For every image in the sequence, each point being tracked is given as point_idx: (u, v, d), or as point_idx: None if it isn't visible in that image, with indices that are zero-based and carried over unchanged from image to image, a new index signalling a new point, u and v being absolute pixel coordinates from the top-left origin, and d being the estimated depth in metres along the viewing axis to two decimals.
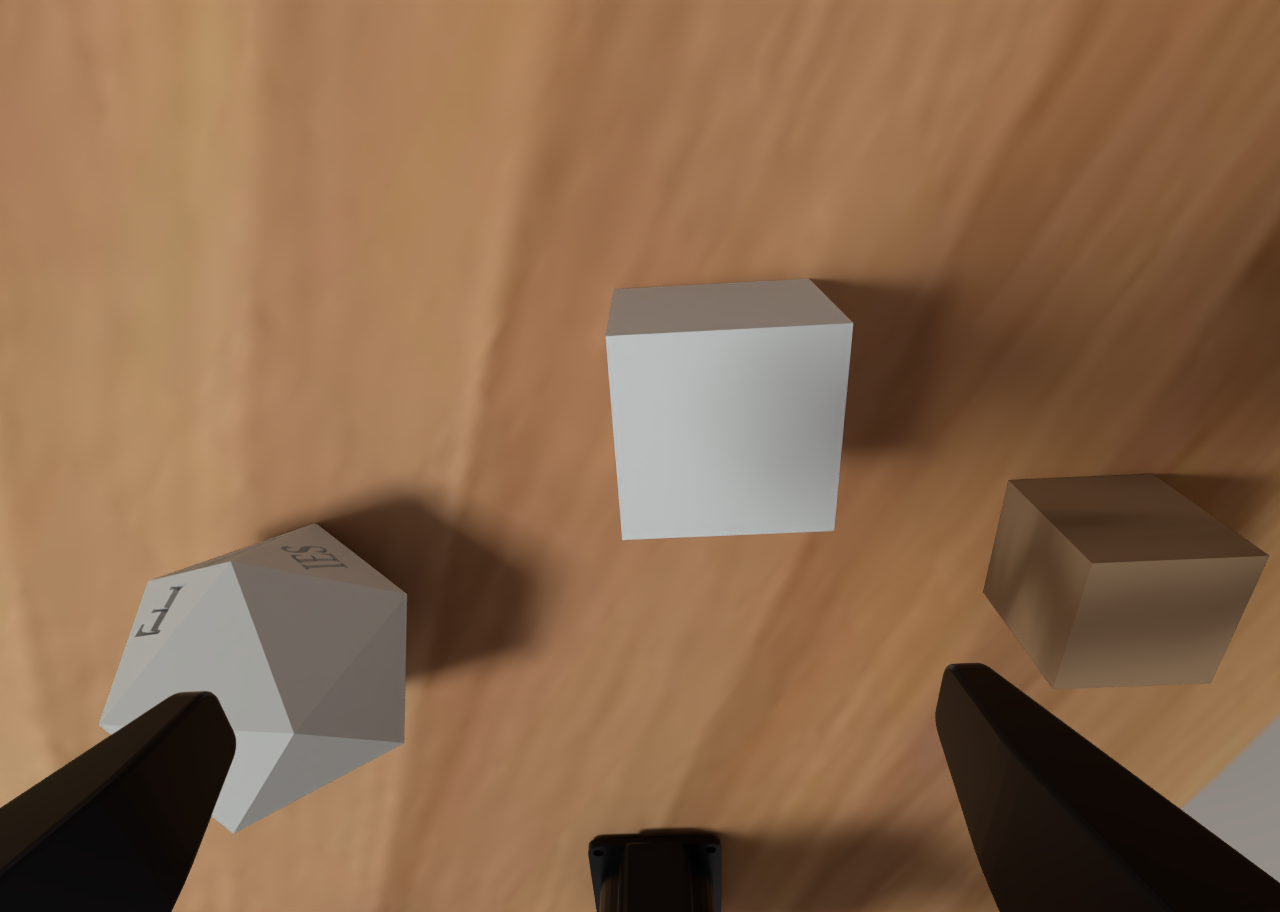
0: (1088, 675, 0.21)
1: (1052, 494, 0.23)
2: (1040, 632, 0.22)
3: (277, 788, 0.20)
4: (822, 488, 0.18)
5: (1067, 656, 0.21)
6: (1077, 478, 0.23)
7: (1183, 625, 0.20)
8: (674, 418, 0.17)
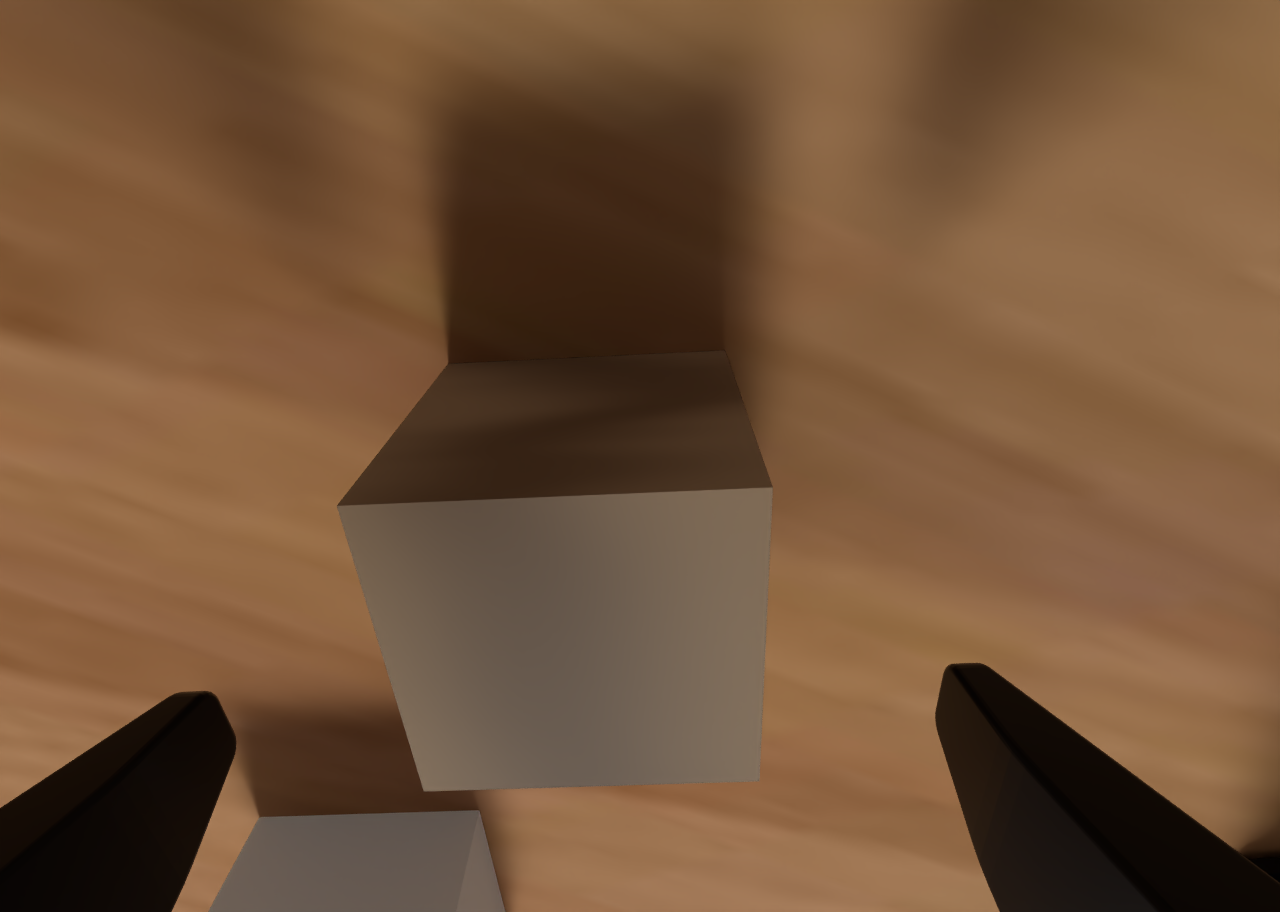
0: (723, 732, 0.09)
1: None
2: None
3: None
4: None
5: (664, 777, 0.10)
6: None
7: (567, 609, 0.08)
8: None
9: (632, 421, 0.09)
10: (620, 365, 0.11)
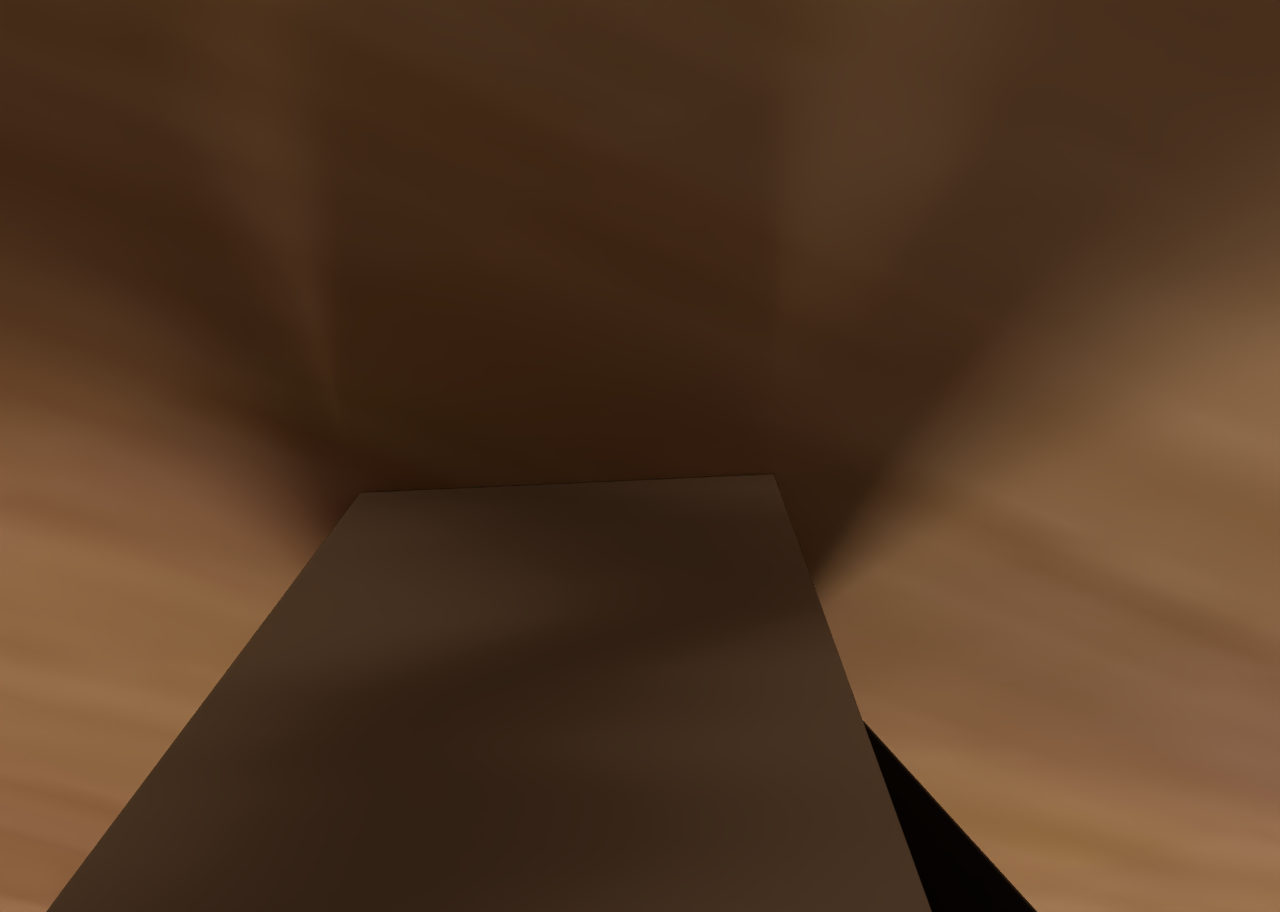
0: None
1: None
2: None
3: None
4: None
5: None
6: None
7: None
8: None
9: (636, 664, 0.05)
10: (616, 509, 0.07)
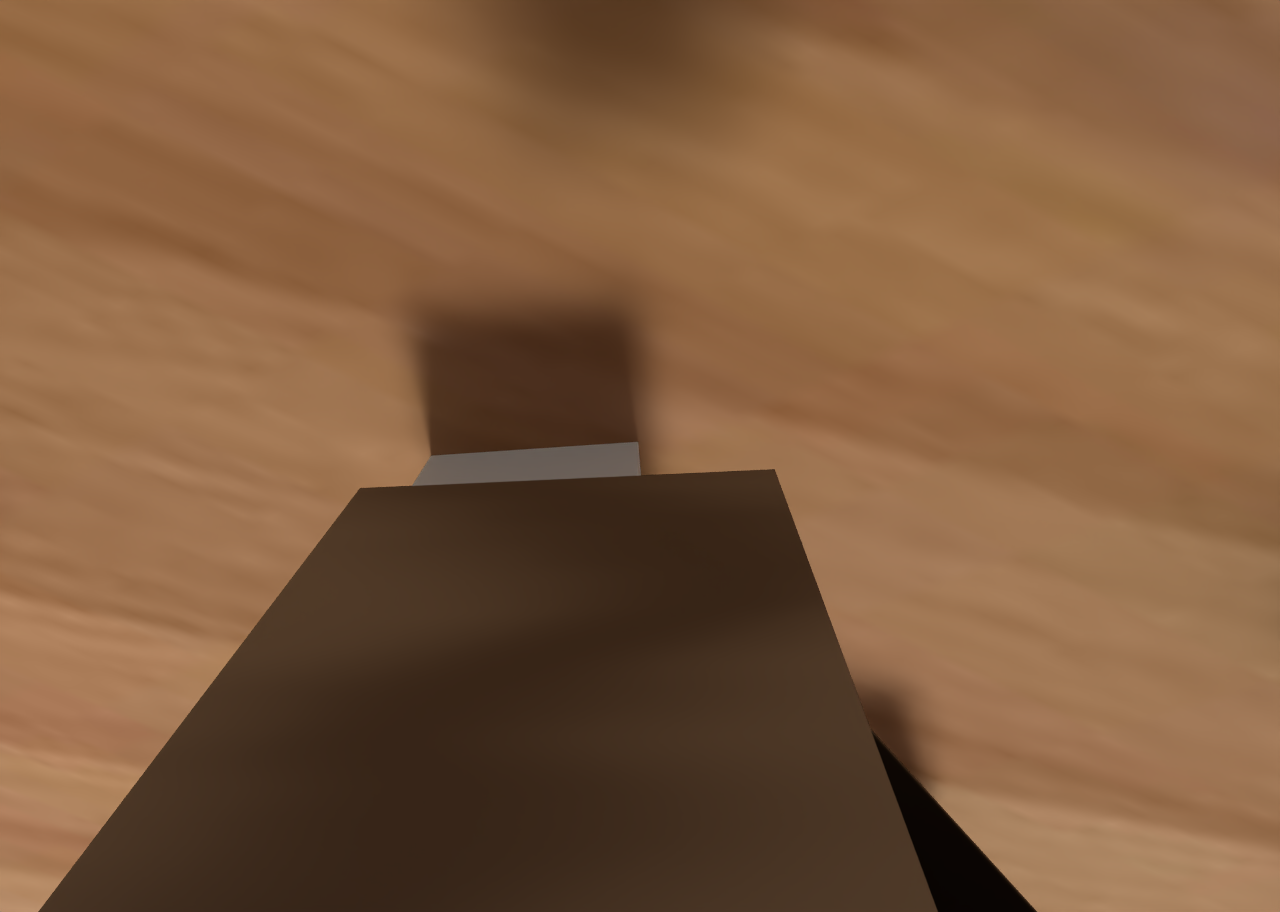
0: None
1: None
2: None
3: None
4: None
5: None
6: None
7: None
8: None
9: (637, 658, 0.05)
10: (617, 504, 0.07)
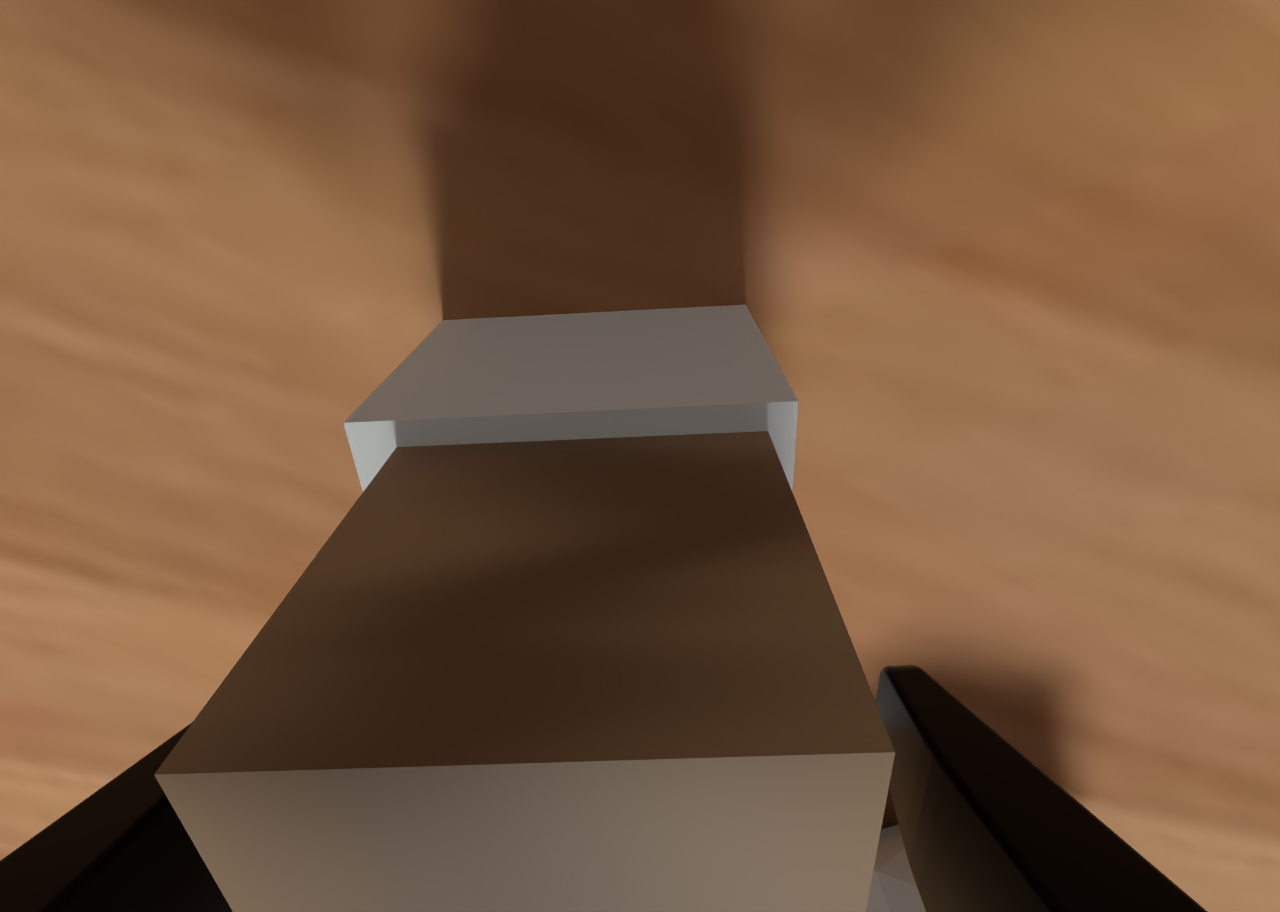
0: None
1: None
2: None
3: None
4: None
5: None
6: None
7: (548, 905, 0.05)
8: None
9: (648, 574, 0.06)
10: (628, 458, 0.08)
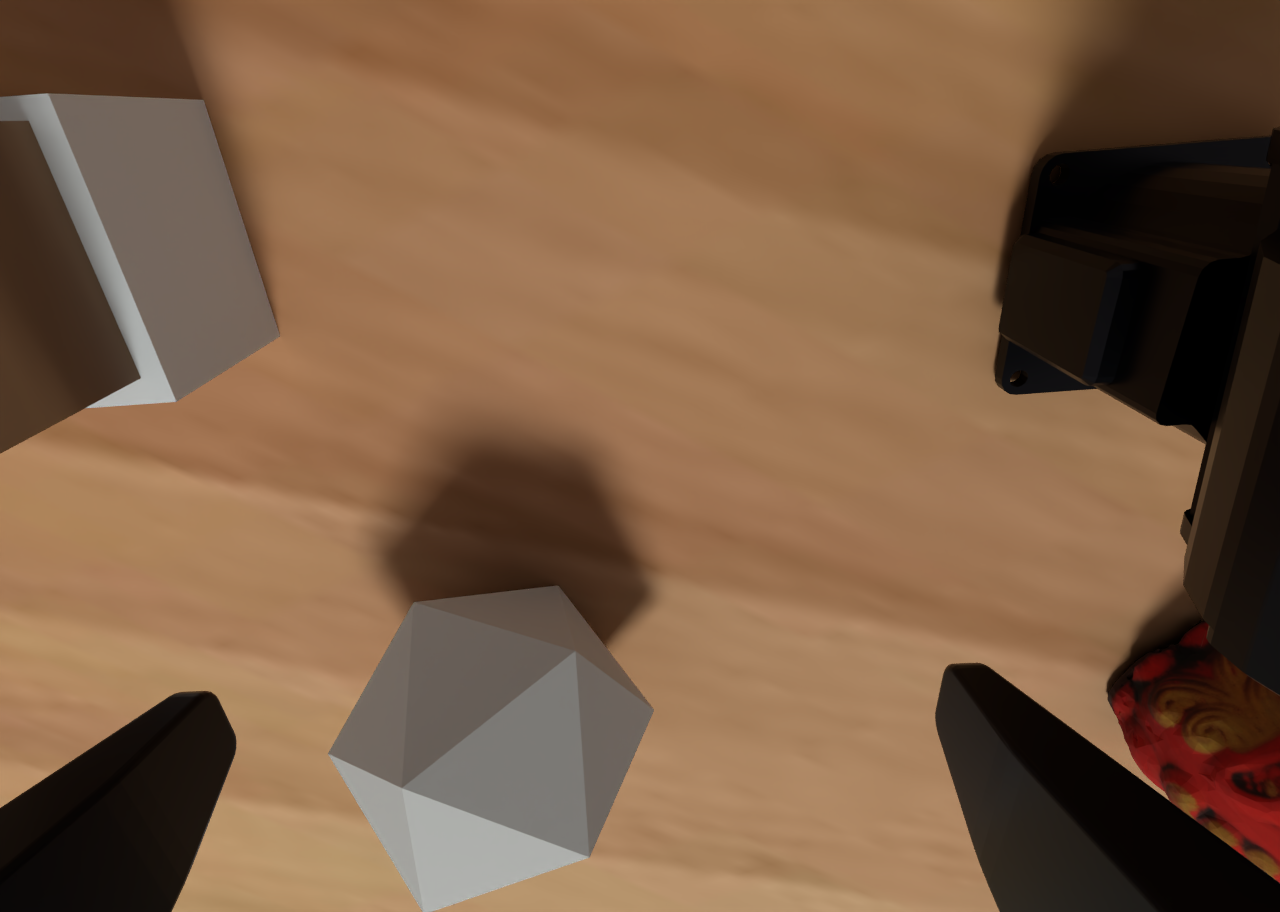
0: None
1: None
2: None
3: (525, 807, 0.17)
4: None
5: None
6: None
7: None
8: None
9: None
10: None
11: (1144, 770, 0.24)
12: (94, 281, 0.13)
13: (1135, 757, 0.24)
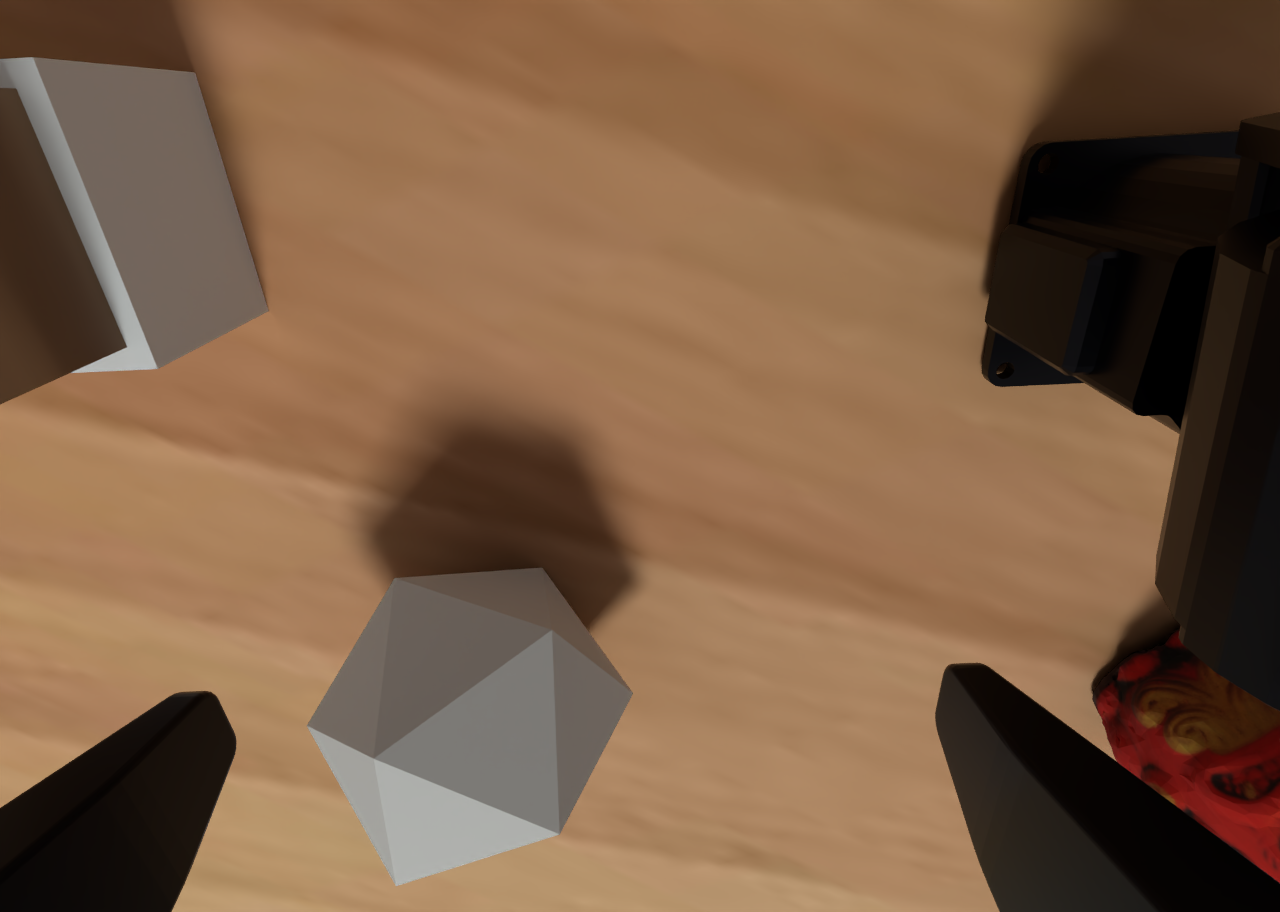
0: None
1: None
2: None
3: (497, 782, 0.17)
4: None
5: None
6: None
7: None
8: None
9: None
10: None
11: None
12: (81, 249, 0.14)
13: (1117, 757, 0.24)
